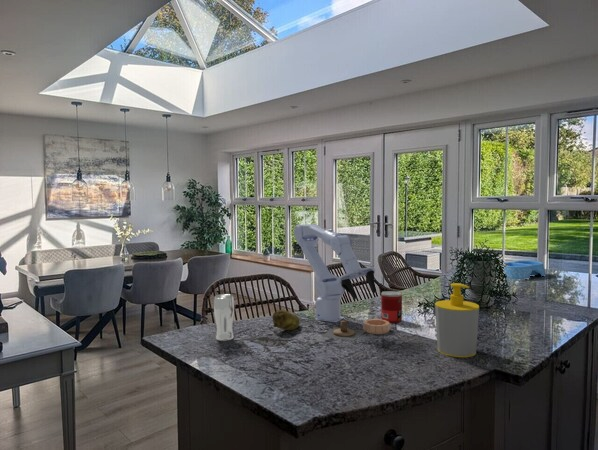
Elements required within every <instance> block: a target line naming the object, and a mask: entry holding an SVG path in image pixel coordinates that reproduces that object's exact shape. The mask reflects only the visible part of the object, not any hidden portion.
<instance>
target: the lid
mask: <svg viewBox="0 0 598 450" xmlns="http://www.w3.org/2000/svg"><path fill="white" fill-rule="evenodd" d="M352 329H353V328H349V327H348V320H343V319H341V320H340V327H339V329H335V330H334V331H333V334H334V335H336V336H341V337H349V336H353V335H355V331H354V330H355V329H354V330H352Z"/></svg>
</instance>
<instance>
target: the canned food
mask: <svg viewBox="0 0 598 450" xmlns="http://www.w3.org/2000/svg"><path fill="white" fill-rule="evenodd" d="M380 293H381V296H380V297H381V299H380V300H381V302H380V305H381V306H380V307H381V308H380V309H381V310H380V311H381V318H380V319H382V320H386V321H388V322H389V323H390V324H398V323H401V322H402V320H403V294H402V292H400V291H395V290H394V291H393V290H390V291H389V290H386V291H382V292H380Z"/></svg>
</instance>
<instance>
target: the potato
mask: <svg viewBox="0 0 598 450" xmlns="http://www.w3.org/2000/svg"><path fill="white" fill-rule="evenodd" d="M271 318H272V323H273V326H274V327H277V328H278V329H280V330H286V331H294V330H296V329H297V328H298V327H299V326H300V318H299V316H298V315H296V314H293V313H292V312H289V311H288V310H285V309H280V310H276V311H274V312H273V314H272V317H271Z"/></svg>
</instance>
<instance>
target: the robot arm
mask: <svg viewBox="0 0 598 450" xmlns="http://www.w3.org/2000/svg"><path fill="white" fill-rule="evenodd" d="M293 231H294V233H293V234H294V239H295V241H296V242H297V245H299V247H300V248H301V251H302V253H303V255H304V256H305V258H306V259H307V262H308V263H309V265H310V267H311V268H312V271H313V272H314V273H315V276H316V278H317V281H316V283H315V286H316V289H317V293H318V297H317V299H316V302H315V320H316V321H324V322H330V323H339V322H341V321H342V320H343V319H344V318H345V317H344V316H341V298H343V295H344V294H345V291H346V292H347V293H349V295H350V296H351V297H352V298H353V300H356V299H357V294H356V292H355V289H354V288H353V285H352V282H351V280H354V279H355V280H356V279H357V278H361V277H364V276H365V277H366V278H365V280H366V282H367V284H368V285H369V288H370V289H371V291H372V293H373V294H376V293H377V288H376V284H375V273H376V269H375V267H374V266H369V267H362V266H361V265H360V263H359V261H358V258H357V256H356V255H355V252H354V250H353V248H352V246H353V245H352V243H353V242H352V238H351V237H350V236H349V235H348V234H344V235H342V234H341V233H340V232H336V231H335V230H334V229H332V228H330V229H329V228H328V229H323V228H321V227H320V225H319V224H317V223H313V224H296V225H295V227H294V230H293ZM319 239H321V240H322V242H323V243H324V244H326V245H327V246H330V247H331V250H332V251H333V252H334V253H335V254H336V255H337V256H338V257H339V260H340V262H341V264H342V267H343V268H344V271H345V274H343V275H341V276H338V275H335V274H332V273H331V272H330V271H329V268H328V267H327V265H326V263H325V262H324V260H323V258H322V257H321V256H320V254H319V252H318V250H317V249H316V246H317V245H318V241H319Z"/></svg>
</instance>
